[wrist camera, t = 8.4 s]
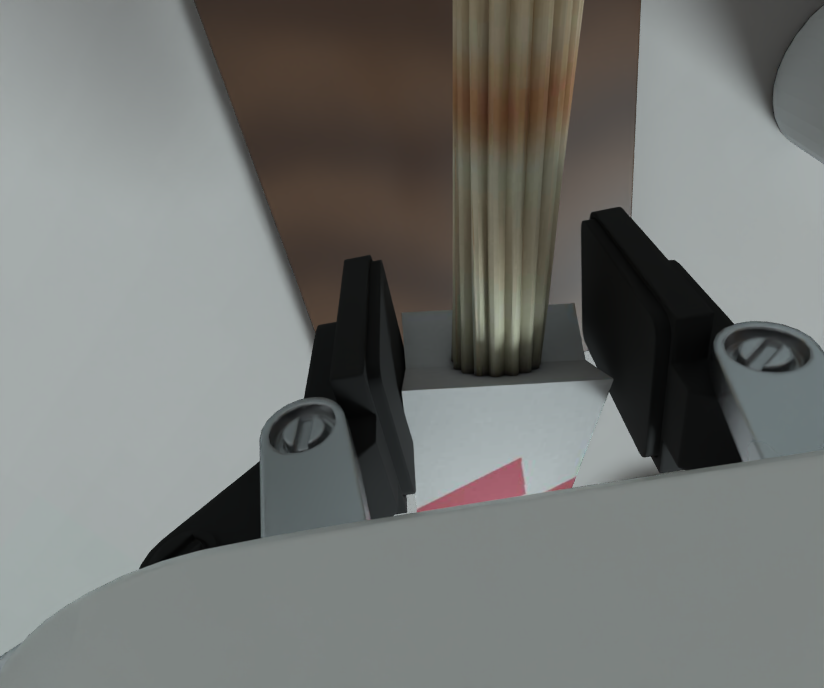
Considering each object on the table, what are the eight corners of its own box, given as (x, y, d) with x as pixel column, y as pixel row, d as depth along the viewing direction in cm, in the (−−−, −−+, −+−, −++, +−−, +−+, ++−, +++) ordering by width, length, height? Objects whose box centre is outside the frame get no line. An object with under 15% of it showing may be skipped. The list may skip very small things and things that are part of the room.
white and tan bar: (413, 670, 15) (358, -672, 4) (409, 580, 18) (367, -444, 7) (553, 663, 15) (856, -672, 4) (531, 574, 18) (693, -448, 7)
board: (120, -221, 15) (109, -228, 14) (646, -365, 14) (659, -381, 13) (338, 385, 28) (337, 396, 27) (620, 335, 27) (626, 344, 26)
